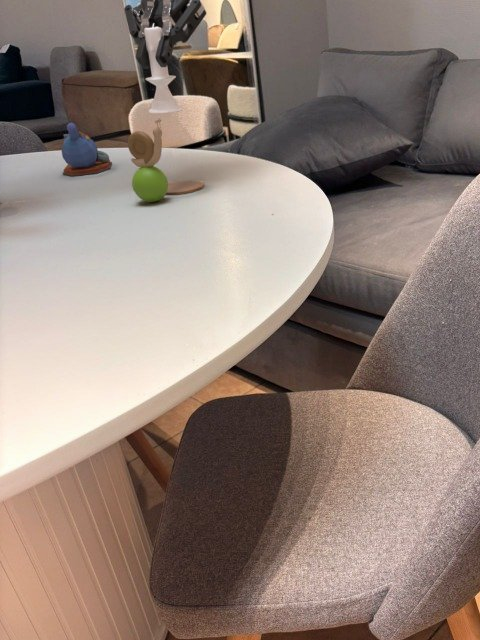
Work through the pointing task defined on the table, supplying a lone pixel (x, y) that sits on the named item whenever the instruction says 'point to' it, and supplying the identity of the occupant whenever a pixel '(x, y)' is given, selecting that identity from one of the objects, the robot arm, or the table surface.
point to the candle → (159, 76)
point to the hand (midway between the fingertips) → (151, 63)
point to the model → (82, 154)
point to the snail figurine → (148, 165)
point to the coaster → (184, 187)
